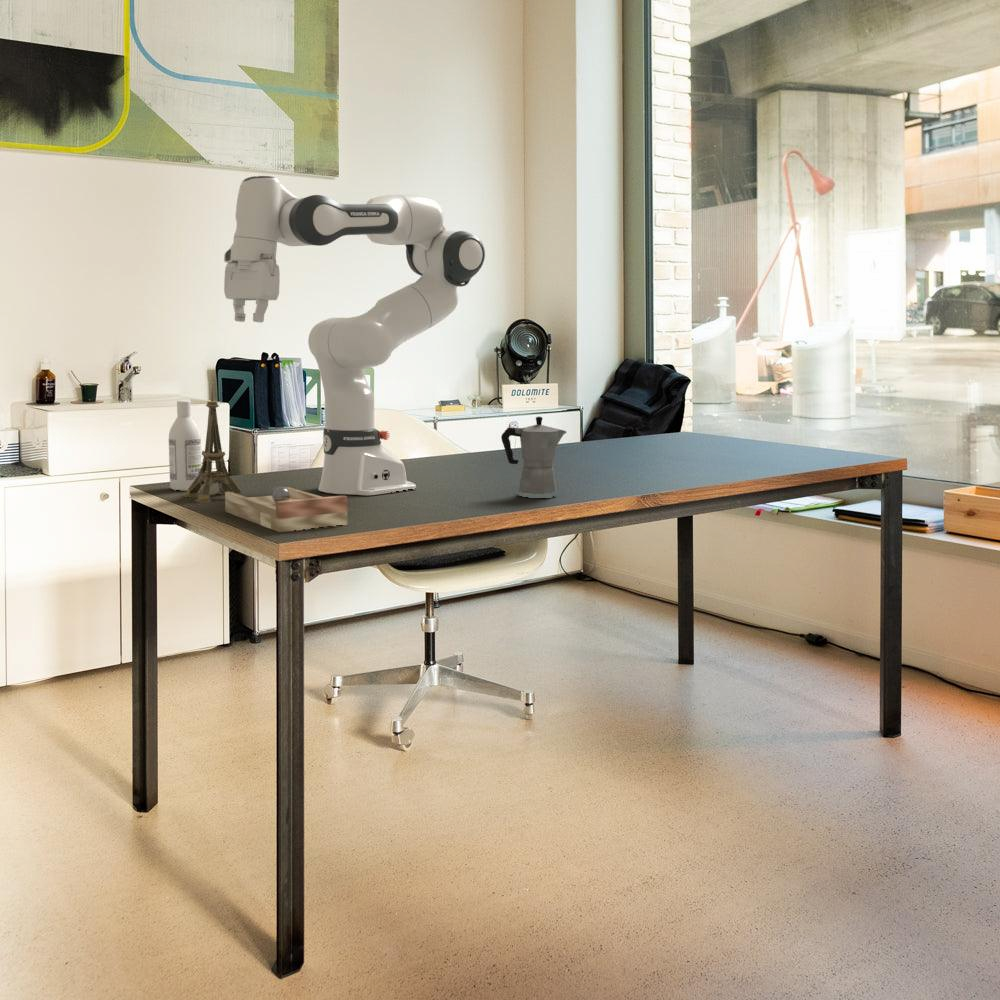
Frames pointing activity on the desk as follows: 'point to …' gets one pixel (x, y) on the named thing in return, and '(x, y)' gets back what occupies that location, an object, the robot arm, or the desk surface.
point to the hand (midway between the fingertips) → (248, 321)
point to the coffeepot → (535, 456)
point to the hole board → (289, 510)
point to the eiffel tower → (209, 455)
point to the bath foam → (184, 449)
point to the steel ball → (280, 494)
